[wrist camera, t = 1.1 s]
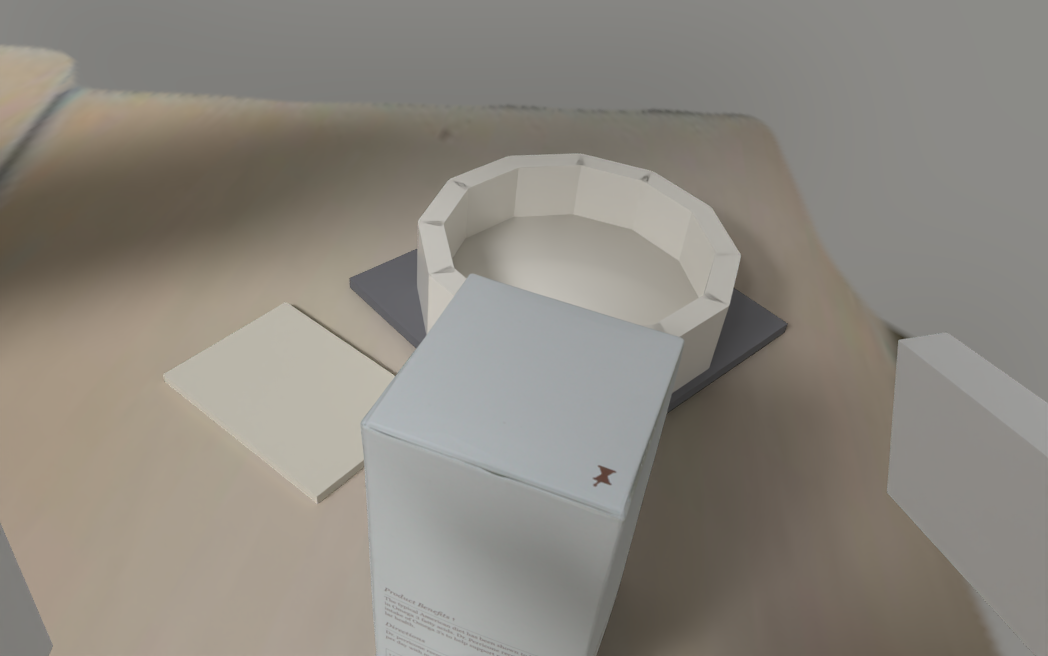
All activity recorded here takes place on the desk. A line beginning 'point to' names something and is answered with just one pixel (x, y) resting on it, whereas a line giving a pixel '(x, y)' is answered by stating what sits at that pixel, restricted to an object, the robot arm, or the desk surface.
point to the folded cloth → (288, 396)
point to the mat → (739, 339)
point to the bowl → (584, 245)
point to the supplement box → (511, 475)
